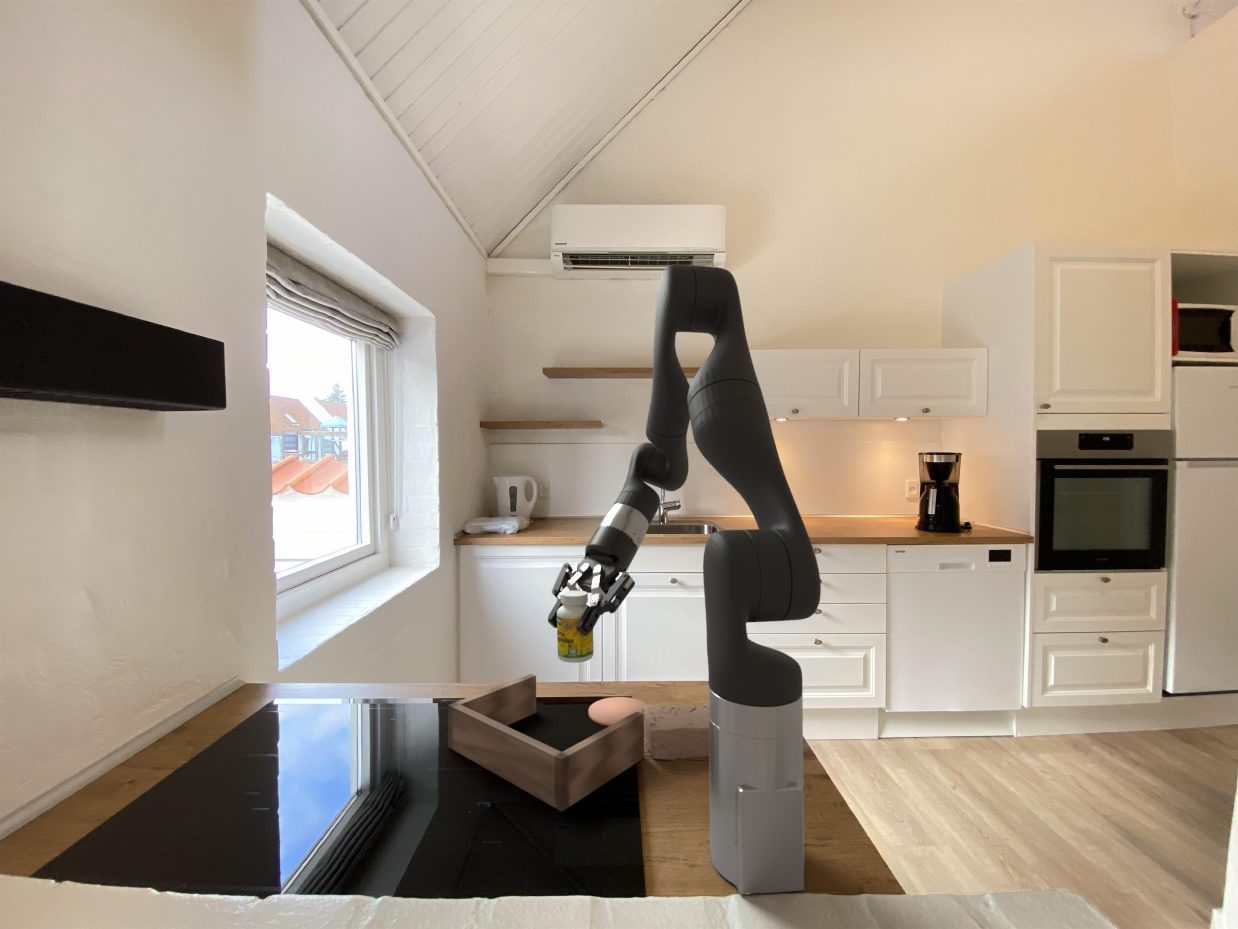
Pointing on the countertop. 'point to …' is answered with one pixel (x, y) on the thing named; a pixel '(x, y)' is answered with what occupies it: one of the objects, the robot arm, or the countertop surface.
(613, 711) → the pink round coaster
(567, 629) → the supplement bottle
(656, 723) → the brick
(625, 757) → the wooden frame
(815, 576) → the robot arm
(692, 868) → the countertop surface
